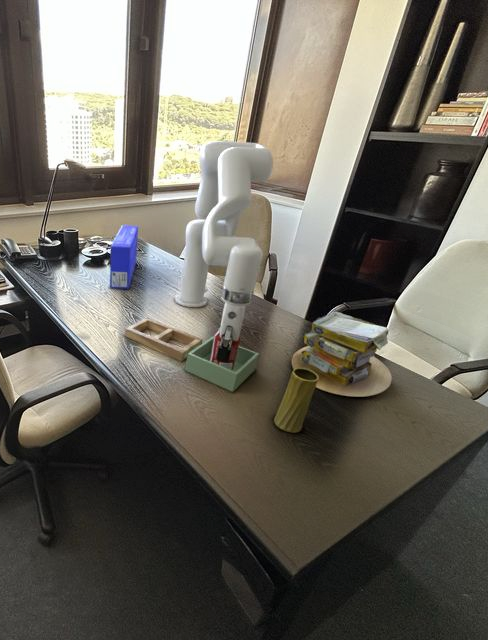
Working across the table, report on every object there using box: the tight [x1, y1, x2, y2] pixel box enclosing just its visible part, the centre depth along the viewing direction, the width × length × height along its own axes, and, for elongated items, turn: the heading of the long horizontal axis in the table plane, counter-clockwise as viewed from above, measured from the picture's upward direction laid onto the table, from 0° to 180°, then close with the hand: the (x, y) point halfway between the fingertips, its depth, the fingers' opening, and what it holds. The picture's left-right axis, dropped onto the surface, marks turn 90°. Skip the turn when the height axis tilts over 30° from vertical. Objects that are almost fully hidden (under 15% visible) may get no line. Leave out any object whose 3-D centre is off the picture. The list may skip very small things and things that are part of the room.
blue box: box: [109, 224, 139, 290], centre depth 170 cm, size 39×8×18 cm, turn 172°
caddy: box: [124, 317, 204, 362], centre depth 119 cm, size 12×22×3 cm, turn 49°
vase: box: [273, 368, 319, 434], centre depth 84 cm, size 6×6×14 cm
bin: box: [184, 335, 260, 393], centre depth 105 cm, size 15×15×6 cm
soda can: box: [210, 326, 241, 370], centre depth 103 cm, size 7×7×12 cm
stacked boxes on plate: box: [291, 311, 393, 398], centre depth 104 cm, size 25×25×17 cm
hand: (224, 352), depth 104 cm, fingers open, 9 cm apart
